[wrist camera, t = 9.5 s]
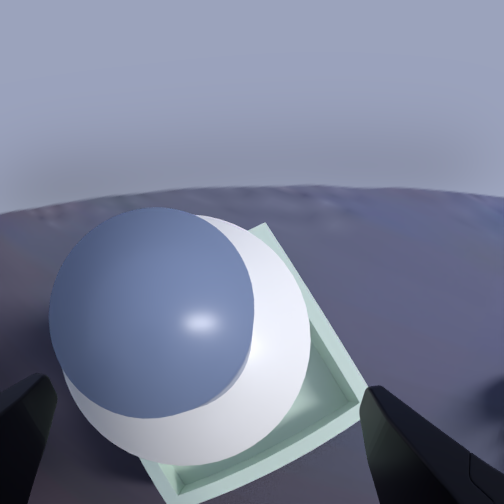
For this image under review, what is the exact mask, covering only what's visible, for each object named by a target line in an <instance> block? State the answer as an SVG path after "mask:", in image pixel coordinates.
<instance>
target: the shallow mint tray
mask: <svg viewBox="0 0 504 504" xmlns="http://www.w3.org/2000/svg"><path fill="white" fill-rule="evenodd" d="M248 232H250V233H251V234H253V235H255V236H256V237H258V238H259V239H261V240H262V241H263V242H264V243H265V244H266V245H268V246H269V247H270V248H271V249H272V250H273V251H274V252H275V253H276V254H277V255H278V256H279V257H280V258H281V260H282V261H283V262H284V263H285V265H286V266H287V268H288V269H289V270H290V272H291V273H292V275H293V276H294V278H295V280H296V282H297V284H298V286H299V288H300V290H301V293H302V296H303V299H304V302H305V305H306V308H307V313H308V318H309V323H310V338H311V343H310V356H309V362H308V367H307V371H306V375H305V378H304V381H303V384H302V386H301V389H300V392H299V394H298V396H297V397H296V399H295V401H294V403H293V405H292V406H291V408H290V410H289V411H288V412H287V414H286V415H285V416H284V418H283V419H282V420H281V422H280V423H279V424H278V425H277V426H276V427H275V428H274V429H273V430H272V431H271V432H270V433H269V434H268V435H267V436H266V437H264V438H263V439H261V440H260V441H259V442H257V443H256V444H255V445H253V446H252V447H250V448H248V449H246V450H244V451H243V452H241V453H239V454H237V455H235V456H232V457H229V458H226V459H223V460H221V461H218V462H213V463H208V464H202V465H189V466H178V465H168V464H161V463H157V462H153V461H149V460H146V459H143V458H140V457H139V459H140V460H141V462H142V464H143V466H144V467H145V469H146V471H147V473H148V474H149V476H150V478H151V479H152V481H153V483H154V484H155V486H156V488H157V489H158V491H159V493H160V494H161V496H162V497H163V499H164V500H165V502H166V503H167V504H198V503H201V502H204V501H206V500H209V499H212V498H214V497H217V496H219V495H222V494H224V493H227V492H229V491H231V490H234V489H236V488H238V487H241V486H243V485H245V484H247V483H250V482H252V481H254V480H256V479H258V478H260V477H262V476H264V475H267V474H269V473H271V472H273V471H275V470H277V469H278V468H280V467H282V466H284V465H286V464H288V463H290V462H292V461H294V460H295V459H297V458H299V457H301V456H303V455H304V454H306V453H308V452H310V451H311V450H313V449H315V448H317V447H318V446H320V445H322V444H323V443H325V442H326V441H328V440H330V439H331V438H333V437H335V436H336V435H338V434H339V433H341V432H342V431H344V430H345V429H347V428H348V427H350V426H351V425H353V424H354V423H356V422H357V421H359V420H360V415H359V408H360V405H361V401H362V398H363V395H364V392H365V389H366V388H367V387H368V386H367V384H366V383H365V381H364V379H363V377H362V376H361V374H360V372H359V371H358V369H357V368H356V366H355V364H354V363H353V361H352V359H351V358H350V356H349V354H348V353H347V351H346V349H345V348H344V346H343V344H342V343H341V341H340V340H339V338H338V336H337V335H336V333H335V331H334V330H333V328H332V327H331V325H330V323H329V322H328V320H327V319H326V317H325V315H324V314H323V312H322V310H321V309H320V307H319V306H318V304H317V302H316V301H315V299H314V298H313V296H312V295H311V293H310V291H309V290H308V288H307V287H306V285H305V283H304V282H303V280H302V279H301V277H300V276H299V274H298V272H297V271H296V269H295V268H294V266H293V265H292V263H291V261H290V260H289V258H288V257H287V255H286V254H285V252H284V250H283V249H282V247H281V246H280V244H279V243H278V241H277V240H276V238H275V237H274V235H273V233H272V232H271V230H270V229H269V227H268V226H267V224H266V223H263V224H261V225H259V226H257V227H255V228H252V229H250V230H248Z"/></svg>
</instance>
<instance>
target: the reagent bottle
mask: <svg viewBox="0 0 504 504" xmlns="http://www.w3.org/2000/svg"><path fill="white" fill-rule="evenodd" d="M49 328H50V336H51V341H52V345H53V348H54V351H55V354H56V357H57V359H58V361H59V363H60V365H61V367H62V370H63V374H64V377H65V381H66V383H67V386H68V388H69V390H70V393H71V395H72V397H73V399H74V400H75V402H76V404H77V406H78V407H79V409H80V410H81V412H82V413H83V414H84V416H85V417H86V418H87V420H88V421H89V422H90V423H91V424H92V425H93V426H94V427H95V428H96V429H97V430H98V431H99V432H100V433H101V434H102V435H103V436H104V437H105V438H107V439H108V440H109V441H111V442H112V443H113V444H115V445H116V446H118V447H120V448H122V449H123V450H125V451H127V452H129V453H131V454H133V455H135V456H138V457H140V458H143V459H146V460H149V461H153V462H157V463H161V464H168V465H178V466H189V465H202V464H208V463H213V462H218V461H221V460H223V459H226V458H229V457H232V456H235V455H237V454H239V453H241V452H243V451H244V450H246V449H248V448H250V447H252V446H253V445H255V444H256V443H257V442H259V441H260V440H261V439H263V438H264V437H266V436H267V435H268V434H269V433H270V432H271V431H272V430H273V429H274V428H275V427H276V426H277V425H278V424H279V423H280V422H281V420H282V419H283V418H284V416H285V415H286V414H287V412H288V411H289V410H290V408H291V406H292V405H293V403H294V401H295V399H296V397H297V396H298V394H299V392H300V389H301V386H302V384H303V381H304V378H305V375H306V371H307V367H308V362H309V356H310V343H311V338H310V323H309V318H308V313H307V308H306V305H305V302H304V299H303V296H302V293H301V290H300V288H299V286H298V284H297V282H296V280H295V278H294V276H293V275H292V273H291V272H290V270H289V269H288V268H287V266H286V265H285V263H284V262H283V261H282V260H281V258H280V257H279V256H278V255H277V254H276V253H275V252H274V251H273V250H272V249H271V248H270V247H269V246H268V245H266V244H265V243H264V242H263V241H262V240H261V239H259V238H258V237H256V236H255V235H253V234H251V233H250V232H248V231H247V230H245V229H243V228H241V227H239V226H237V225H234V224H232V223H229V222H226V221H223V220H220V219H216V218H212V217H207V216H200V215H193V214H190V213H187V212H185V211H181V210H176V209H171V208H160V207H156V208H143V209H136V210H132V211H128V212H125V213H122V214H119V215H117V216H115V217H112V218H110V219H108V220H106V221H105V222H103V223H101V224H100V225H98V226H97V227H95V228H94V229H93V230H91V231H90V232H89V233H88V234H87V235H85V236H84V237H83V238H82V239H81V240H80V241H79V242H78V243H77V245H76V246H75V247H74V248H73V249H72V251H71V252H70V253H69V255H68V256H67V258H66V259H65V261H64V263H63V265H62V266H61V268H60V270H59V272H58V275H57V277H56V280H55V283H54V286H53V290H52V293H51V299H50V305H49Z"/></svg>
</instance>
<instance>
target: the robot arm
mask: <svg viewBox="0 0 504 504" xmlns="http://www.w3.org/2000/svg"><path fill="white" fill-rule="evenodd" d="M56 404H57V394H56V392H55V390H54V388H53V385H52V383H51V381H50V379H49V377H48V376H47V375H44V374H40V373H35V374H33V375H31V376H29V377H27V378H26V379H24V380H22V381H20V382H19V383H17V384H15V385H13V386H12V387H10V388H8V389H6V390H5V391H3V392H1V393H0V504H27V503H28V500H29V496H30V493H31V489H32V486H33V483H34V479H35V476H36V473H37V470H38V467H39V463H40V460H41V457H42V455H43V452H44V449H45V446H46V443H47V439H48V435H49V431H50V427H51V423H52V419H53V416H54V412H55V408H56ZM359 415H360V421H361V426H362V432H363V437H364V443H365V449H366V455H367V460H368V464H369V467H370V471H371V474H372V478H373V481H374V484H375V488H376V491H377V495H378V498H379V502H380V504H504V474H503V473H502V472H500V471H498V470H497V469H495V468H493V467H492V466H490V465H489V464H487V463H486V462H484V461H483V460H481V459H480V458H478V457H477V456H476V455H474V454H473V453H470V451H468V450H467V449H466V448H464V447H463V446H462V445H460V444H459V443H457V442H456V441H455V440H453V439H452V438H451V437H449V436H448V435H447V434H445V433H444V432H442V431H441V430H440V429H438V428H437V427H436V426H434V425H433V424H432V423H430V422H429V421H428V420H426V419H425V418H424V417H422V416H421V415H420V414H418V413H417V412H416V411H414V410H413V409H412V408H410V407H409V406H408V405H406V404H405V403H404V402H402V401H401V400H400V399H398V398H397V397H396V396H394V395H393V394H392V393H390V392H389V391H388V390H386V389H385V388H384V387H382V386H379V385H378V386H371V387H367V388H366V389H365V392H364V395H363V398H362V401H361V405H360V408H359Z"/></svg>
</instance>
